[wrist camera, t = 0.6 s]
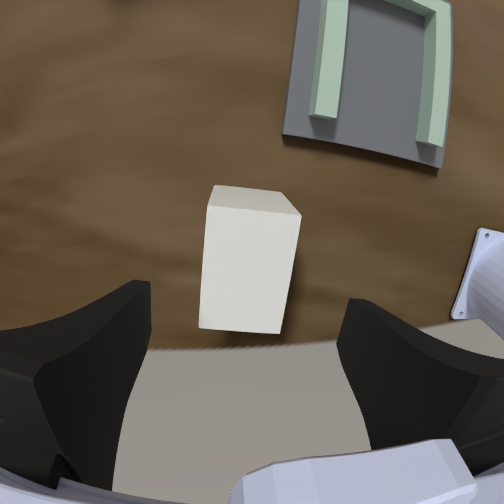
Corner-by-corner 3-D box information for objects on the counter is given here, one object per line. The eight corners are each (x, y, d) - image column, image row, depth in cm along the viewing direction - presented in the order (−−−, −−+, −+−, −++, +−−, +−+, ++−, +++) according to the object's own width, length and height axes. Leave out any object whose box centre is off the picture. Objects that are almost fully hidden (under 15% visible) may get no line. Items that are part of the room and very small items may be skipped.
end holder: (446, 6, 15) (463, -2, 13) (435, 167, 19) (454, 171, 17) (303, -45, 14) (310, -61, 12) (280, 133, 18) (287, 133, 16)
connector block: (280, 192, 19) (301, 215, 14) (267, 282, 21) (279, 333, 16) (214, 184, 19) (207, 205, 13) (206, 277, 21) (198, 327, 15)
